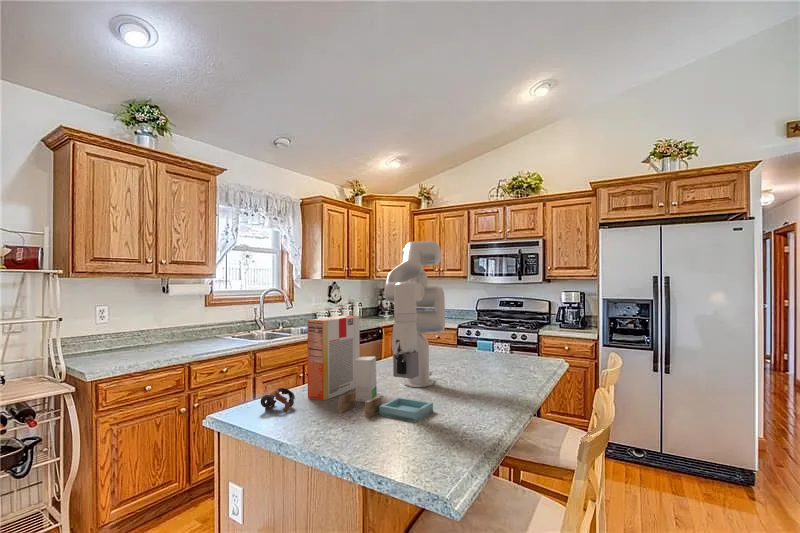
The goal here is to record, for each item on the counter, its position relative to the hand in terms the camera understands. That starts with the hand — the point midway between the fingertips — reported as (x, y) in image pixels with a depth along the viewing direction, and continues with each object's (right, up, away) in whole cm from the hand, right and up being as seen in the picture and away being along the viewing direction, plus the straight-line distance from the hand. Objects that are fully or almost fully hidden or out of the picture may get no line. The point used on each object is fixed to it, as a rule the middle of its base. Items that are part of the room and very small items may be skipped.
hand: (406, 371), depth 137 cm
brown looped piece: (-46, -15, +5) cm, 48 cm away
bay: (-16, -14, +2) cm, 21 cm away
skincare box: (-15, -15, +17) cm, 27 cm away
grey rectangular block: (0, -2, 0) cm, 2 cm away
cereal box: (-29, -16, +28) cm, 43 cm away
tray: (0, -14, 0) cm, 14 cm away
